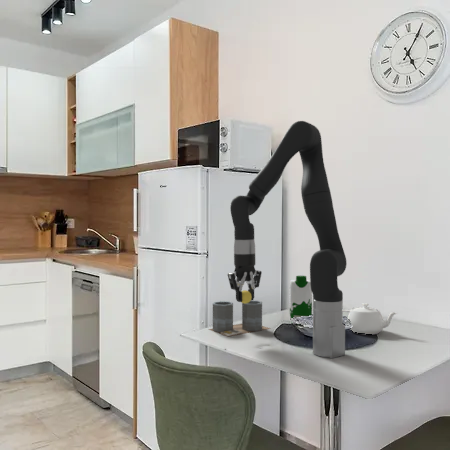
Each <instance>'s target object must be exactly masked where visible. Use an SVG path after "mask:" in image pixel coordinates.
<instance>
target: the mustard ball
mask: <svg viewBox="0 0 450 450" xmlns="http://www.w3.org/2000/svg"><path fill="white" fill-rule="evenodd" d="M251 298H252V296H251V293H250V292H249V291H248V290H242V302H241V304H242V303H244V304H246V303H249V302H250V301H252V300H251Z"/></svg>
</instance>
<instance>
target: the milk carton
mask: <svg viewBox="0 0 450 450" xmlns="http://www.w3.org/2000/svg"><path fill="white" fill-rule="evenodd" d="M309 315H312V316H313V293H312V291H311V285H310V279H307V276H306V275H296V276H295V279H290V283H289V317H290V319H291V318H293V317H301V316H309Z"/></svg>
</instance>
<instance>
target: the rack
mask: <svg viewBox="0 0 450 450" xmlns="http://www.w3.org/2000/svg"><path fill="white" fill-rule="evenodd" d="M241 305H242V307H241V310H242V311H241V315H242V316H241V323H237V324H234V302H232V301H225V300H223V301H221V300H220V301H214V302H213V303H212V328H208V330H209V331H211V332H213V333H217V334H220V335H223V336H226V337H228V338H229V337H235V336H240V335H245V334H250V333H256V332H260V331H265V330H271V329H272V328H270V327H267V326H263V301H260V300H251V301H250V302H249V303H246V304H244V303H242V302H241Z"/></svg>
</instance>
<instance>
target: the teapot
mask: <svg viewBox="0 0 450 450" xmlns="http://www.w3.org/2000/svg"><path fill="white" fill-rule="evenodd" d="M361 305H362V306H355V307H352V308H351V309H343V313H344V312H345V313H346V312H347V313H348V316H347V318H348V319H350V321H351V323H352V325H353V327H352V328H351V329H349V330H352V331H353V333H355V332H357V333H356V334H358V333H365V334H364V335H366V334H372V335H377V334H379V333H380V332H382V331H383V330H384V329H385V328H387V327H389V325H390V324H391V321H392V319H393V317H394V316H395V315H398V312H395V311H394V312H393V311H391V312H390V313H389V315H388V317H387V318H386V319H385V320H384V317H383V315H382V313H381V311H380V309H378V308H375V307H369V303H366V302H365V303H364V302H362V303H361ZM352 331H351V332H352Z"/></svg>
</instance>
